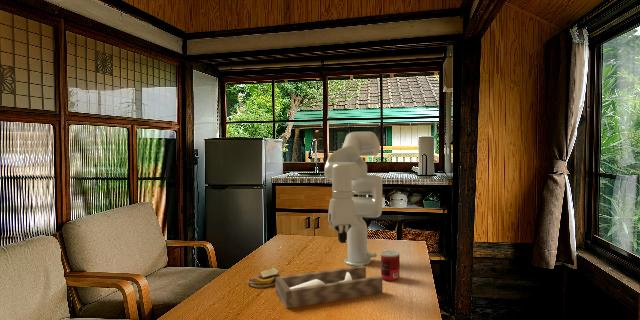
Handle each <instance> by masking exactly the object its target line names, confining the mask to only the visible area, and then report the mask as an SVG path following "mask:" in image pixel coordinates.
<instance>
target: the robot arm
mask: <svg viewBox="0 0 640 320" xmlns="http://www.w3.org/2000/svg"><path fill="white" fill-rule="evenodd" d="M380 150H381V145H380V141H379V138H378V136H377V135H376V133H374V132H373V131H351V132H349V133H348V134H346V136H345V139H344V142H343V144H342V147H341V148H339V149H336V150H335V151H333V152H332V153H331V154H329V156H328V157H327V158H326V159H327V160H326V161H325V164H324V171H323V173H324V177H325V178H326V179H327V181H331V184H332V185H331V188H332V189H331V191H332V192H331V194H332V198H330V199H329V204H328V211H327V212H328V213H327V216H328V217H327V221H328V223H329V225H328V227H329V229H332V230H333V229H334V230H336V232H337V239H338V242H339V243H341V244H346V243H347V257H346V258H344V263H345V264H346V265H349V266H352V267H357V266H367V265H369V264H371V261H372V260H371V258H376V257H377V256H378V255H377V253H376V252H371V251H370V252H369V251H368V226H367V223H366V221H365V220H364V219H363V218H379V217H380V216H381V215H382V212H383V181H382V178H381V176H379V175H376V174H375V175H374V174H368V164H367V162H365V160H364V159H363V158H362V157H364V156H365V157H366V156H368V157H369V156H373V157H374V156H375V157H376V156H377V155H378V154H379V153H380ZM361 156H362V157H361ZM355 195H362V196H355ZM363 195H365V196H366V195H367V196H366V197H365V196H363ZM368 195H370V196H368Z"/></svg>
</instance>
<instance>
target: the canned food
mask: <svg viewBox="0 0 640 320" xmlns="http://www.w3.org/2000/svg"><path fill="white" fill-rule="evenodd" d="M400 260H401V259H400V253H399V252H398V251H396V250H384V251H381V253H380V277H382V281H385V282H392V283H393V282H397V281H399V280H400V273H401V272H400V271H401V269H400V265H401V264H400Z"/></svg>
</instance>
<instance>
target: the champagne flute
mask: <svg viewBox="0 0 640 320" xmlns="http://www.w3.org/2000/svg"><path fill="white" fill-rule="evenodd" d="M349 280H352V278H351V275H350V273H349V272H347V273H346V276H345V280H344V281H349ZM340 282H342V281H340ZM321 284H324V283H323V282H322V281H320V280H318V279H315V280H312V281H309V282H306V283H303V284H300V285H297V286H294V287H291V288H290V289H294V288H301V287H308V286H315V285H321Z"/></svg>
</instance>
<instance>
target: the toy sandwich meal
mask: <svg viewBox="0 0 640 320" xmlns="http://www.w3.org/2000/svg"><path fill="white" fill-rule="evenodd" d="M279 273H280V272H279V270H278V269H277V268H276V267H273V268H270V269H265V270H263V271H262V270H261V271H260V273H259V274H260V275H257V276H252V277H250V278H249V279H248V280H247V284H248V285H250V287H252V288H259V289H263V288H264V289H265V288H269V287H272V286H274V285H275V286H276V284H275V277H281V276H280V274H279Z"/></svg>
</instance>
